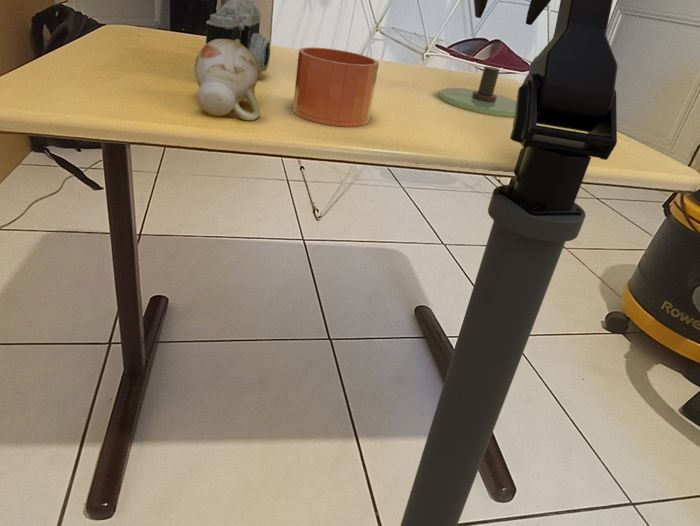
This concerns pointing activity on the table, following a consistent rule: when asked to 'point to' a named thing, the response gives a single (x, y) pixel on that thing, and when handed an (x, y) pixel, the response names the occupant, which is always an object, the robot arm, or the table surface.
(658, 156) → the table surface
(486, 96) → the grey flanged cylinder
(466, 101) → the plate
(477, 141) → the table surface
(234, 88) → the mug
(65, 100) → the table surface
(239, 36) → the camera
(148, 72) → the table surface
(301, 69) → the cup
